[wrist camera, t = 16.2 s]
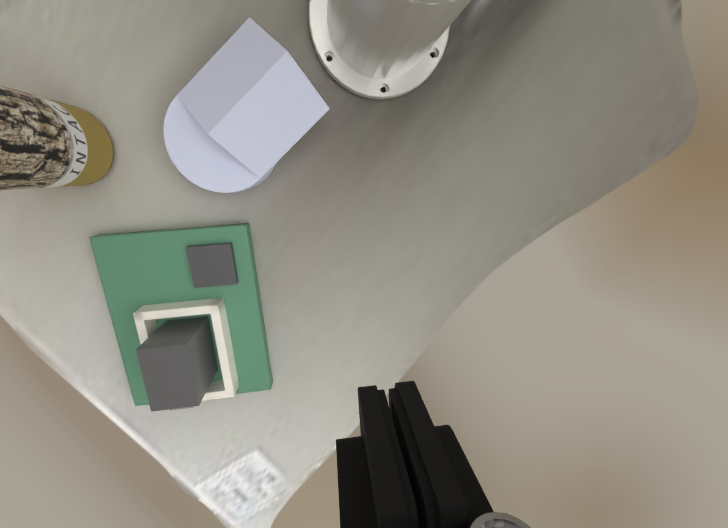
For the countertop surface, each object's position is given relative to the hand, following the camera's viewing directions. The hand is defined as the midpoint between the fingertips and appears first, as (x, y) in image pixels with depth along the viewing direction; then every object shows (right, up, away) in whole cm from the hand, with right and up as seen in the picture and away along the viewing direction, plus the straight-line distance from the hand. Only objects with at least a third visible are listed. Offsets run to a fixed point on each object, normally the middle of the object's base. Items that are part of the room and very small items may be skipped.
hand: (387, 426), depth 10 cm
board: (-18, 0, +26) cm, 32 cm away
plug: (-18, -4, +25) cm, 31 cm away
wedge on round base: (-12, +18, +22) cm, 31 cm away
